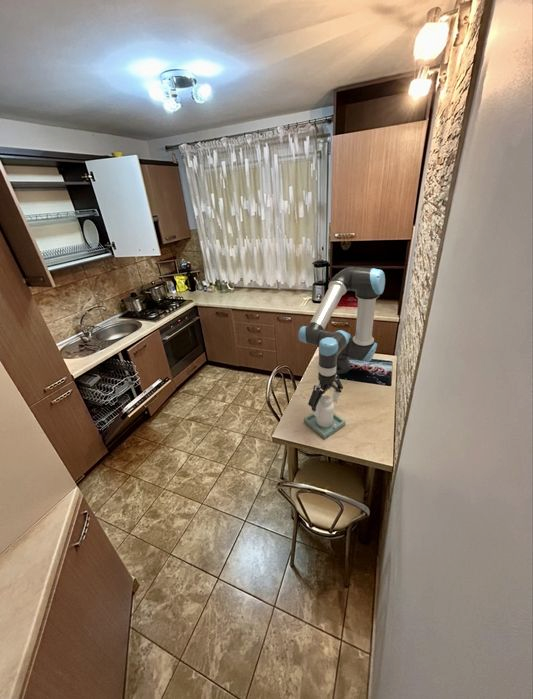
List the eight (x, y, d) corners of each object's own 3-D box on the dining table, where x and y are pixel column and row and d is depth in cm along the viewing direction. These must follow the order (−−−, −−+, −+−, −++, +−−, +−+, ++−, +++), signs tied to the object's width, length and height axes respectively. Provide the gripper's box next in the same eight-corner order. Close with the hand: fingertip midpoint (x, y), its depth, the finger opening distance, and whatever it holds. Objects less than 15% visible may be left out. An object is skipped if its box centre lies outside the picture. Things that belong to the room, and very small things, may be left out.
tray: (323, 409, 144) (324, 402, 142) (345, 425, 134) (346, 418, 131) (303, 422, 137) (303, 415, 135) (324, 439, 127) (325, 432, 125)
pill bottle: (322, 430, 131) (323, 406, 123) (313, 419, 137) (313, 396, 130) (336, 425, 133) (338, 401, 126) (326, 414, 140) (328, 391, 132)
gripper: (340, 357, 129) (337, 393, 139) (299, 379, 117) (300, 416, 128) (353, 364, 123) (349, 400, 134) (312, 388, 111) (311, 425, 122)
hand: (325, 408), depth 131 cm, fingers open, 13 cm apart
